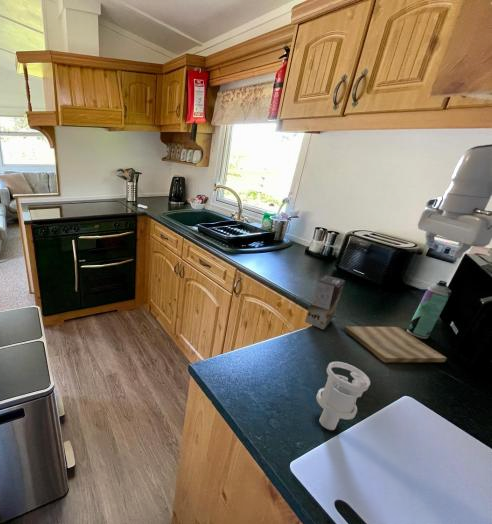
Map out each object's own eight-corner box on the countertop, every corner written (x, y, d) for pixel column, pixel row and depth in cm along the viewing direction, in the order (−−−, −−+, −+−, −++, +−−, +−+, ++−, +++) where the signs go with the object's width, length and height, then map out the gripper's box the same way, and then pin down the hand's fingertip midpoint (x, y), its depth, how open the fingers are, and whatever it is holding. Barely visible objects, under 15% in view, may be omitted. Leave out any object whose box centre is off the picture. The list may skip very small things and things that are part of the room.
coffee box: (324, 330, 97) (339, 287, 91) (303, 322, 101) (317, 280, 95) (331, 321, 103) (346, 280, 97) (312, 313, 107) (325, 274, 101)
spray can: (427, 334, 100) (454, 281, 92) (428, 340, 96) (456, 287, 88) (406, 327, 103) (431, 276, 95) (407, 333, 99) (432, 281, 91)
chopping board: (396, 330, 100) (397, 326, 100) (444, 362, 86) (447, 358, 85) (343, 329, 98) (345, 326, 98) (384, 362, 83) (386, 358, 83)
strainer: (323, 439, 59) (347, 383, 53) (302, 410, 65) (322, 357, 60) (354, 438, 60) (381, 382, 54) (330, 409, 66) (352, 356, 61)
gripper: (513, 213, 71) (486, 265, 76) (444, 201, 90) (426, 243, 95) (485, 211, 72) (460, 263, 77) (422, 199, 91) (405, 241, 96)
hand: (441, 252), depth 86 cm, fingers open, 8 cm apart
